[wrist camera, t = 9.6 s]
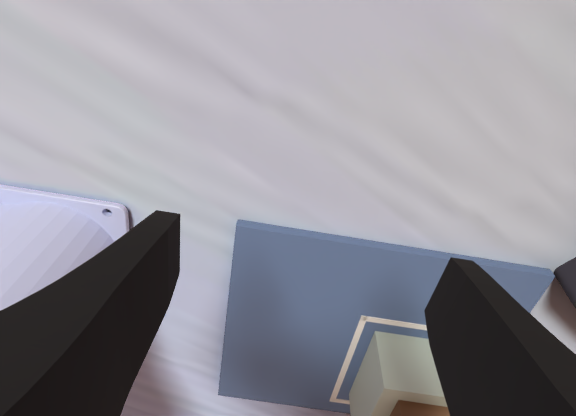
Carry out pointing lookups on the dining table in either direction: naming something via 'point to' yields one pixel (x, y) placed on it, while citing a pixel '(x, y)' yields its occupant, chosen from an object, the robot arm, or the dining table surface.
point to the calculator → (568, 279)
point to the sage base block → (395, 375)
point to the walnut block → (418, 409)
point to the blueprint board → (329, 309)
